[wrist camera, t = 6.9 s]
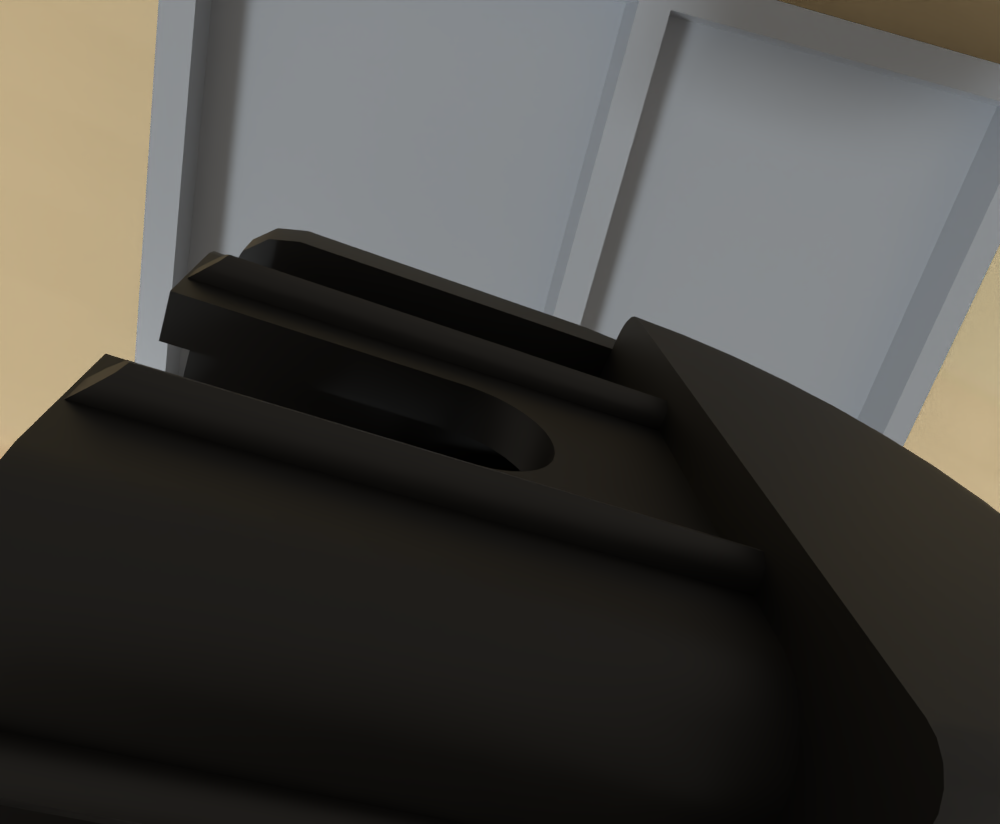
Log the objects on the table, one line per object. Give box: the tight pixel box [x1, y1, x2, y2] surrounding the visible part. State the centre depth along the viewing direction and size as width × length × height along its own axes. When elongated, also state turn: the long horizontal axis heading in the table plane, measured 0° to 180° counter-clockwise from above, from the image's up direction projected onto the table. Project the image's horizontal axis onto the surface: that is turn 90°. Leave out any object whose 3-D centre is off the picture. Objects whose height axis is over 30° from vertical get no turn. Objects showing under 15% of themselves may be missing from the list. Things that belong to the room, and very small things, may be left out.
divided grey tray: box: [135, 0, 1000, 446], centre depth 23 cm, size 22×15×2 cm, turn 77°
